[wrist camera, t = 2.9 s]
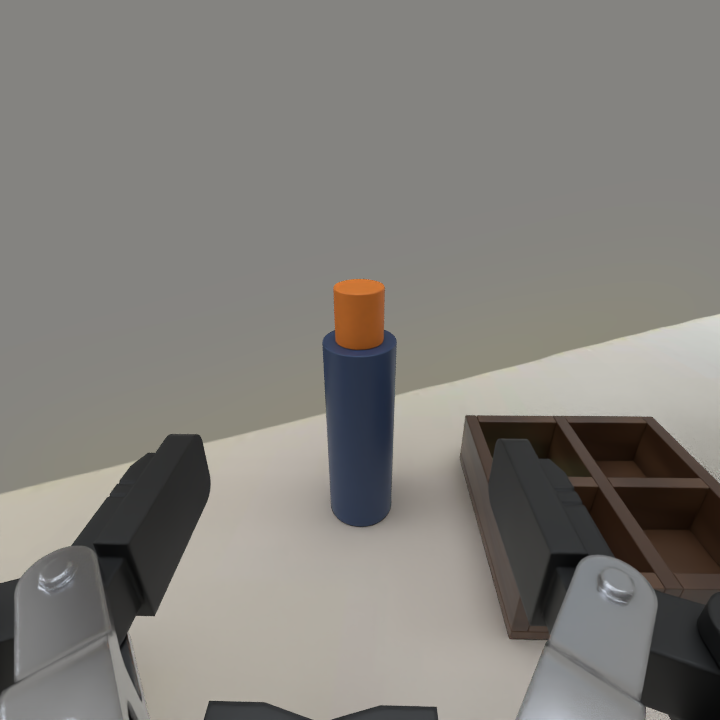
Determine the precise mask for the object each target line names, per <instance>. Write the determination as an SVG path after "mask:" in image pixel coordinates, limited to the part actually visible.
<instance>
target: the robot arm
mask: <svg viewBox="0 0 720 720" xmlns="http://www.w3.org/2000/svg"><path fill="white" fill-rule="evenodd" d="M574 489H575V488H574V487H573V485H572V483H571V482H570V480H569V478H568V476H567V475H566V473H565V472H564V471H563V470H562V469H561V468H559V467H558V466H557V465H556V464H555V463H554V462H552V461H551V460H550V459H539V458H538V456H537V454H536V453H535V451H534V449H533V447H532V445H531V443H530V441H529V440H527V439H498V440H497V441H496V444H495V449H494V455H493V461H492V466H491V472H490V478H489V486H488V491H489V501H490V505H491V509H492V512H493V515H494V518H495V521H496V524H497V527H498V530H499V533H500V536H501V539H502V542H503V545H504V548H505V551H506V555H507V558H508V561H509V564H510V567H511V570H512V573H513V576H514V579H515V582H516V585H517V588H518V591H519V594H520V597H521V600H522V604H523V607H524V610H525V613H526V616H527V619H528V622H529V625H530V626H547V628H548V631H549V634H550V637H549V639H548V641H547V642H546V644H545V647H544V649H543V651H542V654H541V656H540V659H539V661H538V664H537V667H536V669H535V672H534V674H533V677H532V679H531V682H530V684H529V687H528V689H527V692H526V695H525V697H524V700H523V702H522V705H521V707H520V710H519V712H518V715H517V718H516V720H645V718H646V706H647V707H649V708H652V709H655V710H657V711H660V712H663V713H665V714H668V715H669V717H670V719H671V720H720V592H717V593H715V594H713V595H712V596H711V597H710V599H709V600H708V602H707V604H706V605H704V604H700V603H697V602H694V601H690V600H687V599H683V598H680V597H677V596H673V595H670V594H666V593H663V592H660V591H658V590H655V589H653V588H652V586H651V584H650V583H649V582H648V580H647V579H646V578H645V577H644V576H643V575H642V574H641V573H640V572H638V571H637V570H636V569H635V568H633V567H632V566H630V565H629V564H627V563H625V562H623V561H621V560H619V559H616V558H615V557H614V555H613V553H612V552H611V550H610V548H609V546H608V545H607V543H606V541H605V540H604V538H603V536H602V534H601V533H600V531H599V529H598V528H597V526H596V524H595V522H594V521H593V519H592V517H591V516H590V514H589V512H588V511H587V509H586V507H585V505H583V504H582V500H581V499H580V497H579V495H578V493H577V492H575V490H574ZM209 493H210V474H209V470H208V465H207V460H206V456H205V451H204V446H203V442H202V439H201V437H200V435H197V434H170V435H168V436H167V437H166V438H165V440H164V441H163V443H162V444H161V446H160V447H159V449H158V450H157V451H156V453H147V454H146V455H145V456H144V457H142V458H141V459H139V460H138V461H137V462H135V463H134V464H133V465H131V466H130V468H129V469H128V470H127V472H126V473H125V474H124V476H123V477H122V478H121V480H120V483H119V484H117V485H116V486H115V488H114V489H113V490H112V492H111V493H110V497H107V498H106V500H105V501H104V503H103V504H102V505H101V507H100V508H99V509H98V511H97V512H96V513H95V515H94V516H93V517H92V519H91V520H90V521H89V523H88V524H87V525H86V527H85V528H84V529H83V531H82V532H81V533H80V535H79V536H78V537H77V539H76V540H75V541H74V543H73V544H72V545H71V546H70V547H65V548H62V549H59V550H56V551H54V552H52V553H50V554H48V555H46V556H44V557H43V558H41V559H40V560H38V561H37V562H35V563H34V564H33V565H32V566H31V567H30V568H29V569H28V570H27V571H26V572H25V573H24V574H23V575H22V577H21V578H19V579H16V580H12V581H8V582H4V583H0V720H150V717H149V713H148V709H147V705H146V701H145V697H144V692H143V688H142V684H141V679H140V675H139V671H138V667H137V662H136V658H135V654H134V650H133V645H132V641H131V637H130V634H129V632H128V630H129V628H130V626H131V624H132V622H133V620H134V618H135V616H155V614H156V612H157V610H158V607H159V605H160V603H161V601H162V599H163V597H164V594H165V592H166V590H167V588H168V586H169V583H170V581H171V579H172V577H173V575H174V573H175V570H176V568H177V566H178V564H179V562H180V559H181V557H182V555H183V553H184V551H185V549H186V546H187V544H188V542H189V540H190V538H191V535H192V533H193V531H194V529H195V527H196V524H197V522H198V520H199V518H200V516H201V514H202V511H203V509H204V507H205V505H206V503H207V500H208V497H209ZM204 720H312V719H309V718H306V717H303V716H301V715H298V714H295V713H292V712H290V711H287V710H284V709H281V708H279V707H276V706H273V705H270V704H268V703H265V702H230V701H209V704H208V707H207V711H206V714H205V717H204ZM332 720H438V714H437V707H421V706H383V705H380V706H377V707H373V708H370V709H366V710H363V711H359V712H356V713H353V714H349V715H346V716H342V717H339V718H335V719H332Z"/></svg>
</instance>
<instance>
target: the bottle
mask: <svg viewBox="0 0 720 720" xmlns="http://www.w3.org/2000/svg"><path fill="white" fill-rule="evenodd" d="M384 293H385V287H384V285H383V284H382V283H380V282H377V281H373V280H367V279H352V280H346V281H342V282H339V283H337V284H335V286H334V314H335V330H334V331H332V332H330V333H328V334H327V335H326V336H325V337H324V339H323V362H324V380H325V399H326V418H327V437H328V456H329V474H330V493H331V507H332V511H333V512H334V514H335V515H336V517H337V518H338V519H339V520H341V521H342V522H344V523H346V524H349V525H352V526H360V527H362V526H370V525H373V524H376V523H378V522H380V521H381V520H382V519H384V518H385V517H386V515H387V514H388V512H389V510H390V507H391V487H392V459H393V430H394V401H395V373H396V372H395V371H396V343H397V342H396V338H395V336H394V335H393V334H391V333H390V332H388V331H386V330H384Z"/></svg>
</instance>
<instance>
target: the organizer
mask: <svg viewBox="0 0 720 720" xmlns="http://www.w3.org/2000/svg"><path fill="white" fill-rule="evenodd" d="M498 439H527V440H529V441H530V443H531V445H532V447H533V449H534V451H535V453H536V454H537V456H538V458H539V459H550V460H551V461H552V462H554V463H555V464H556V465H557V466H558V467H559V468H561V469H562V470H563V471H564V472H565V473H566V475H567V476H568V478H569V480H570V482H571V483H572V485H573V487H574V488H575V489H574V490H575V492H577V493H578V495H579V497H580V499H581V500H582V504H583V505H585V507H586V509H587V511H588V512H589V514H590V516H591V517H592V519H593V521H594V522H595V524H596V526H597V528H598V529H599V531H600V533H601V534H602V536H603V538H604V540H605V541H606V543H607V545H608V546H609V548H610V550H611V552H612V553H613V555H614V557H615V558H616V559H619V560H621V561H623V562H625V563H627V564H629V565H630V566H632V567H633V568H635V569H636V570H637V571H638V572H640V573H641V574H642V575H643V576H644V577H645V578H646V579H647V580H648V582H649V583H650V584H651V586H652V588H653V589H655V590H658V591H660V592H663V593H666V594H670V595H673V596H677V597H680V598H683V599H687V600H690V601H694V602H697V603H700V604H704V605H706V604H707V602H708V600H709V599H710V597H711V596H712V595H713V594H715V593H717V592H720V484H719V483H718V482H717V481H716V480H715V479H714V478H713V477H712V476H711V475H710V474H709V473H708V472H707V471H706V470H705V469H704V468H703V467H702V466H701V465H700V464H699V463H698V462H697V461H696V460H695V459H694V458H693V457H692V456H691V455H690V454H689V453H688V452H687V451H686V450H685V449H684V448H683V447H682V446H681V445H680V444H679V443H678V442H677V441H676V440H675V439H674V438H673V437H672V436H671V435H670V434H669V433H668V432H667V431H666V430H665V429H664V428H663V427H662V426H661V425H660V424H659V423H658V422H657V421H656V420H655V419H654V418H653V417H627V416H553V417H552V416H479V415H478V416H477V417H476V416H475V415H466V416H465V423H464V431H463V439H462V446H461V453H460V461H461V464H462V468H463V472H464V475H465V479H466V483H467V486H468V490H469V493H470V497H471V501H472V504H473V508H474V512H475V515H476V519H477V523H478V526H479V530H480V533H481V537H482V541H483V544H484V548H485V552H486V555H487V559H488V563H489V566H490V570H491V573H492V577H493V581H494V584H495V588H496V592H497V595H498V599H499V603H500V606H501V610H502V613H503V617H504V621H505V624H506V628H507V632H508V635H509V638H510V639H549V637H550V634H549V631H548V628H547V626H530V625H529V622H528V619H527V616H526V613H525V610H524V607H523V604H522V600H521V597H520V594H519V591H518V588H517V585H516V582H515V579H514V576H513V573H512V570H511V567H510V564H509V561H508V558H507V555H506V551H505V548H504V545H503V542H502V539H501V536H500V533H499V530H498V527H497V524H496V521H495V518H494V515H493V512H492V509H491V505H490V501H489V491H488V486H489V478H490V472H491V466H492V461H493V455H494V449H495V444H496V441H497V440H498Z"/></svg>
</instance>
